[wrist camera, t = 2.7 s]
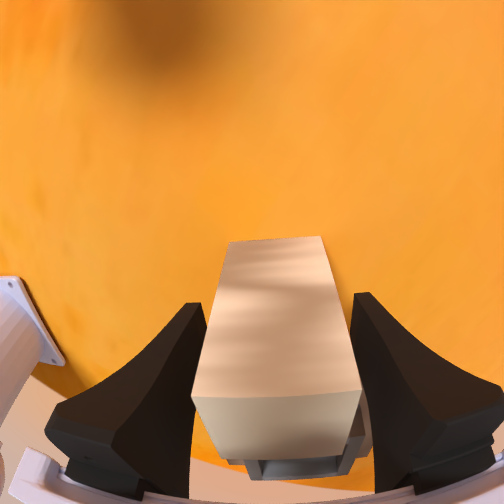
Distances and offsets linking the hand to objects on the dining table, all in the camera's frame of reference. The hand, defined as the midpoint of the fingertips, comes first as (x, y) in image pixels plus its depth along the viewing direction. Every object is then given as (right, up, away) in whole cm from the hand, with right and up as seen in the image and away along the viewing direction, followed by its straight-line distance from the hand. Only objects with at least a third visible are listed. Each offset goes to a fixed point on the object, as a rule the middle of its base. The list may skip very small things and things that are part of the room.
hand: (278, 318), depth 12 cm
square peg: (0, +1, +3) cm, 3 cm away
